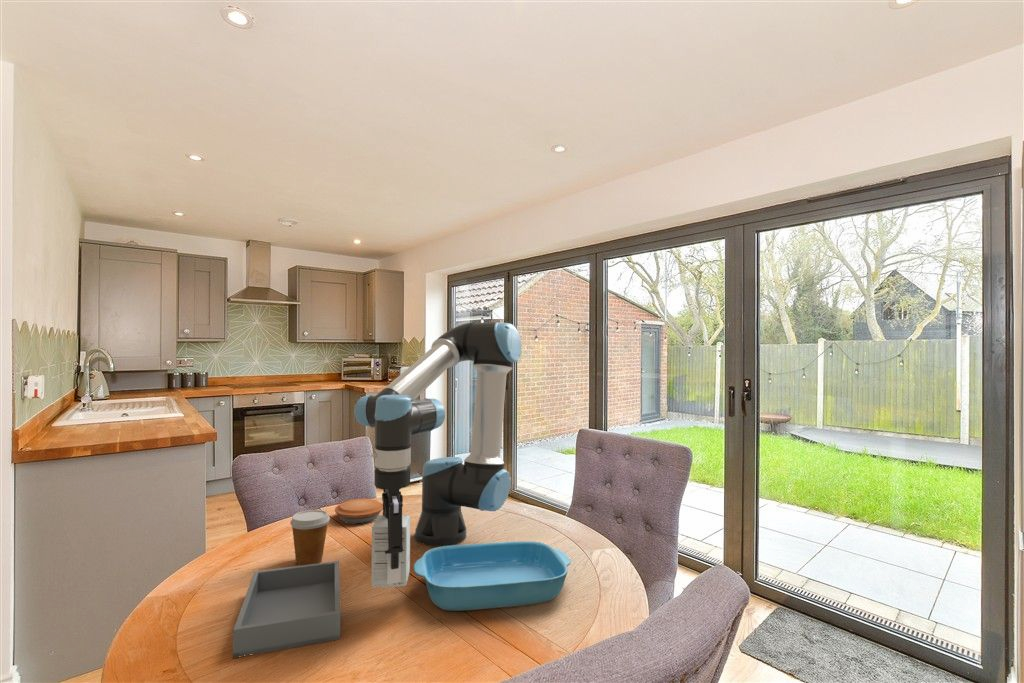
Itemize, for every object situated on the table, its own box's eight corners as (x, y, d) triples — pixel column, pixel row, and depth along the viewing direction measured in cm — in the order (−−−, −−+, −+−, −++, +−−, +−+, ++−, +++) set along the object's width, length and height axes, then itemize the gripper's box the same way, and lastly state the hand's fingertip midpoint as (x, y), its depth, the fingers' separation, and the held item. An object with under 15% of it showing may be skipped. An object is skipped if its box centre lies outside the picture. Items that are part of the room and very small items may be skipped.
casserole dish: (552, 562, 127) (553, 535, 127) (585, 606, 106) (585, 574, 106) (411, 575, 118) (412, 546, 119) (415, 626, 97) (416, 590, 97)
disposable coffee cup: (314, 571, 119) (315, 523, 119) (280, 567, 121) (282, 519, 121) (336, 555, 128) (337, 510, 129) (304, 552, 130) (305, 507, 130)
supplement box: (376, 571, 106) (377, 514, 107) (410, 570, 107) (411, 513, 107) (369, 588, 99) (370, 527, 99) (406, 587, 100) (407, 526, 100)
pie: (355, 530, 147) (356, 514, 147) (324, 519, 155) (324, 504, 155) (393, 516, 160) (394, 501, 160) (362, 507, 168) (363, 493, 168)
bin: (338, 581, 114) (339, 560, 114) (339, 639, 91) (340, 612, 92) (253, 593, 108) (254, 571, 108) (232, 658, 85) (233, 630, 85)
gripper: (370, 457, 112) (369, 554, 112) (379, 482, 92) (377, 600, 92) (403, 455, 114) (402, 550, 114) (418, 478, 95) (416, 593, 95)
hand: (391, 572), depth 103 cm, fingers closed on supplement box, 8 cm apart
